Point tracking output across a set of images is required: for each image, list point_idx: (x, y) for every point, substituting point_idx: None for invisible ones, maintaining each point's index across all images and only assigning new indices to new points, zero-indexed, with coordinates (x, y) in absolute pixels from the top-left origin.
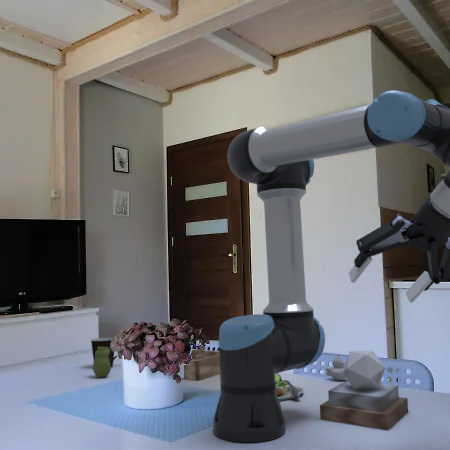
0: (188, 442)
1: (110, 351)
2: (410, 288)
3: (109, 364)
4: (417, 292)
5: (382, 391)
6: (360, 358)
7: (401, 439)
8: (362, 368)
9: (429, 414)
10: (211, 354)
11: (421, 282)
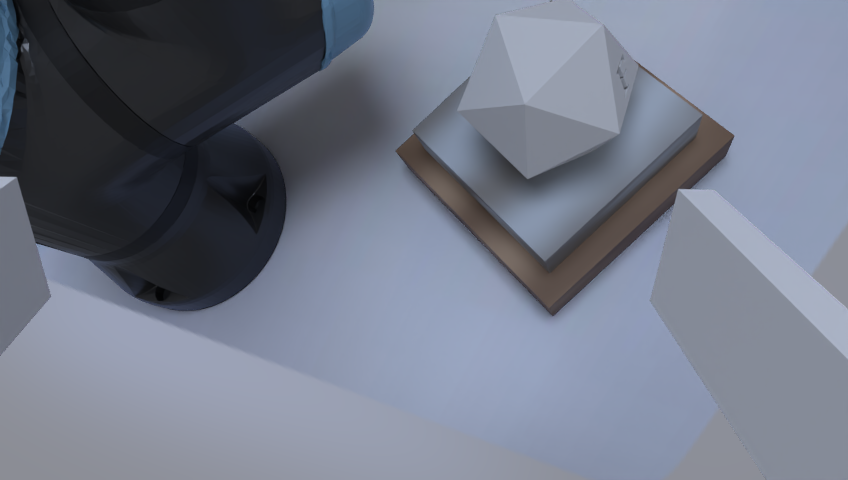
0: (57, 261)
1: None
2: (708, 240)
3: None
4: (706, 387)
5: (591, 185)
6: (502, 106)
7: (546, 405)
8: (507, 139)
9: (788, 201)
10: None
11: (779, 418)
